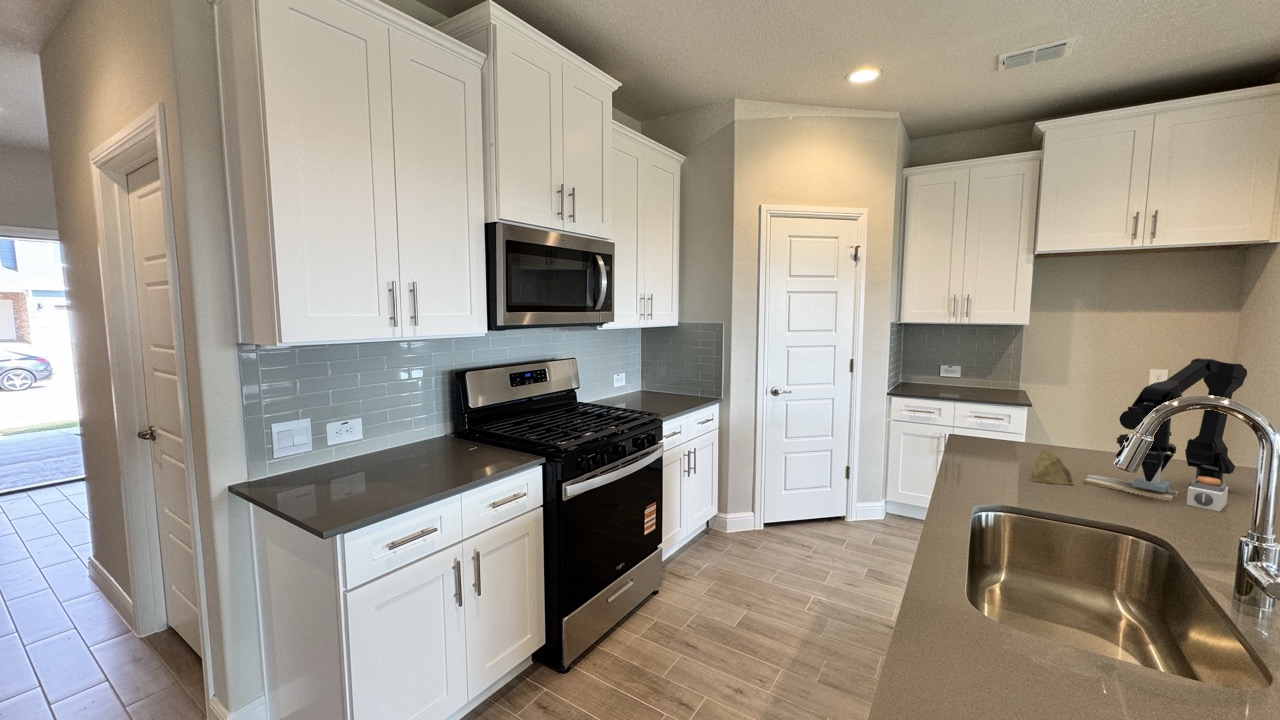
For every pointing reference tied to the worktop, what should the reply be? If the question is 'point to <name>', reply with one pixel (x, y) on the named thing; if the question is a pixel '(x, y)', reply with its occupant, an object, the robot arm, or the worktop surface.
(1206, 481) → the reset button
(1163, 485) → the carriage
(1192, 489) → the gauge cabinet
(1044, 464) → the rock
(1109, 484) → the rail
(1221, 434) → the robot arm
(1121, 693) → the worktop surface
